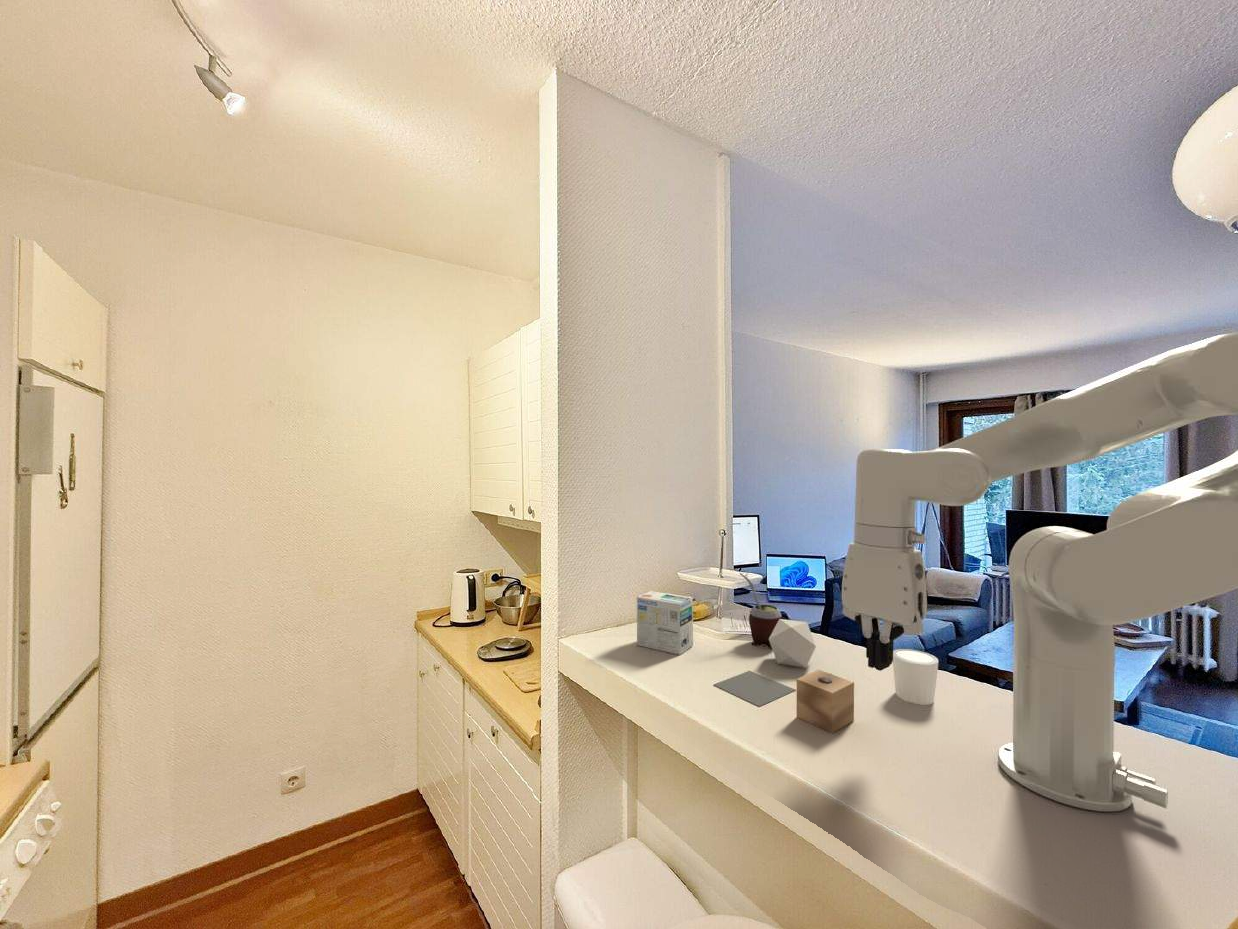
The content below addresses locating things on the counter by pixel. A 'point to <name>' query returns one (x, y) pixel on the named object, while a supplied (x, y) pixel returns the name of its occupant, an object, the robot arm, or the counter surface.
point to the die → (792, 643)
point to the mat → (754, 688)
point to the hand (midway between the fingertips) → (879, 666)
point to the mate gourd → (762, 620)
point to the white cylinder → (915, 676)
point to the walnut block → (825, 700)
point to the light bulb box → (665, 622)
